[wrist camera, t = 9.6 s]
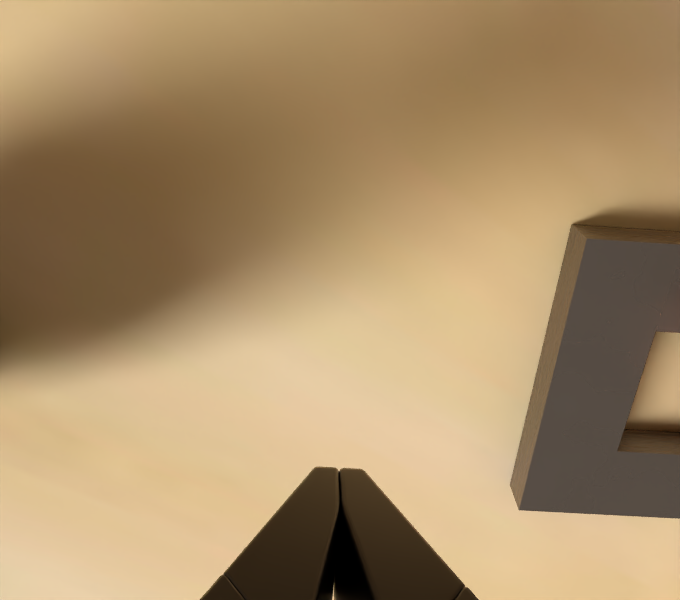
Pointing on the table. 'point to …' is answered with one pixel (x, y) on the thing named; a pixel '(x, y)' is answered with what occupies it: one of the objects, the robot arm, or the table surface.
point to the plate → (602, 381)
